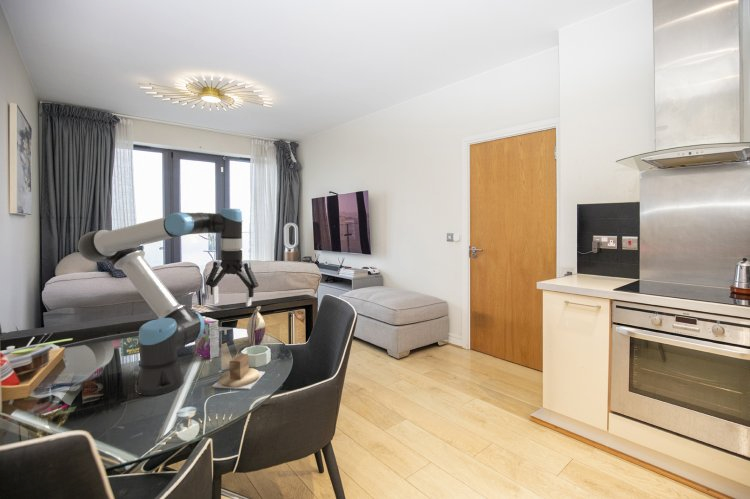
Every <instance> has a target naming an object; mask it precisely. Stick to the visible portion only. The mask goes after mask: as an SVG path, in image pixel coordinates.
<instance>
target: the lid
mask: <svg viewBox="0 0 750 499" xmlns="http://www.w3.org/2000/svg"><path fill="white" fill-rule="evenodd" d="M258 371H259V370H257V369H255V368H254V367H249V362H248V354H241V353H238V354H236V355H235V356H234V357H233V358H231V359H230V360H229V370H227V371H225V372H223V373H222V374H221V375H220V376H219V378H218V380H219V382H220V384H221V385H223V386H226V387H241V386H246V385H249V384H251V383H254V382H255V381H257V380H258V378H259V372H258ZM258 381H259V380H258ZM258 381H257V382H258Z"/></svg>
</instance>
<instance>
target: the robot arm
mask: <svg viewBox="0 0 750 499" xmlns="http://www.w3.org/2000/svg"><path fill="white" fill-rule="evenodd" d="M242 212H243V211H242V210H241V209H240V208H223V207H222V208H221V209H220V211H219V213H215V212H214V213H213V212H212V213H211V212H180V211H179V212H173V213H170V214H168V215H167V216H164V217H161V218H157V219H153V220H152V219H151V220H149V221H145V222H141V223H137V224H133V225H128V226H124V227H120V228H117V229H113V230H108V229H101V230H95V231H94V230H93V231H90V232H87V233H85V234H83V235H82V236H81V237H80V238H79V241H78V242H77V250H78V253H79V254H80V256H81V257H83V258H84V259H86V260H87V261H89V262H90V261H91V262H93V263H100V262H101V263H103V262H104V263H105V262H109V263H110V264H111V265H112V266H113V268H114V269H116V270H121V271H122V272H123V273H124V274H125V276H126V277H127V278H128V280H129V281H130V283H132V285H133V286H134V288H135V289H136V290H137V292H138V293H139V294H140V296H141V297H142V298H143V299H144V300H145V302H146V304H148V306H149V307H150V308H151V310H152V311H153V313H154V314H155V315H156V316H157V317H158V318H157V319H152V320H149V321H146V323H144V324H142V325H141V326H140V327H139V330H138V338H137V339H138V348H139V349H138V351H139V366H140V367H139V371H138V375H137V378H136V381H135V386H134V387H135V392H136V391H137V392H138V393H141V394H145V395H144V396H157V395H158V396H159V395H163V394H166V393H169V392H172V391H174V390H176V389H179V388H181V386H182V385H184V383H185V376H184V373H183V371H182V367H181V366H180V363H179V360H178V359H179V356H178V352H179V351H178V350H180V349H181V348H183V347H186V346H187V345H189V344H191V343H193V342H194V343H195V340H196V339H198V338H199V337H200V336H201V335H202V333H203V331H204V326H205V324H204V320H203V318H202V315H201V313H199V312H198V311H193V310H190V309H189V308H188V306H187V305H186V304H180V303H179V302H178V300H177V299H176V298H175V296H174V295H173V294H172V293H171V291H170V290H169V289H168V287H167V286H166V285H165V283H163V281H162V280H161V278H160V277H159V276H158V274H157V272H155V270H154V269H153V267H152V266H151V265H150V264H149V263H148V262H147V260H146V259H145V256H146V255H145V254H146V252H145V250H144V249H145V245H149V244H154V243H157V242H161V241H165V240H169V239H174V238H178V237H179V238H180V237H184V236H188V235H195V234H197V235H198V234H199V235H200V234H220V249H221V250H220V259H221V261H219V260H217V261H214V262H212V263H213V264H212V269H211V271H210V273H209V275H208V277H207V279H206V281H205V286H209V287H210V296H212V305H217V304H219V300H220V299H219V298H220V296H219V286H218V284H219V282H220V281H221V280H222V279H223V278H224V276H225V275H236V276H238V277H239V279H240V281H242V282H243V284H244V285H245V286H246V288H247V289H245V306H246V307H251V306H252V298H253V297H254V293H255V292H254V291H255V290H254V289H256V288H258V287H259V283H258V281H257V278H256V277H255V275H254V272H253V271H252V267H251V262H245V263H244V262H243V250H242V249H243V215H242V214H243V213H242ZM220 268H222V269H221V270H220V271H219V269H220ZM243 269H244V270H243ZM244 271H245V272H244ZM218 272H219V273H218ZM217 273H218V274H217ZM216 275H217V276H216ZM138 393H137V394H138Z"/></svg>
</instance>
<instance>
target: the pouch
mask: <svg viewBox="0 0 750 499" xmlns="http://www.w3.org/2000/svg"><path fill="white" fill-rule="evenodd" d="M261 308H262V306H261V305H258V306H256V309H255V310H254V311H253V313H252V315H251V316H250V318H249V320H248V321H247V326H246V334H247V338H248V341H249V345H250V346H249V347H251V346H256V345H258V346H261V343H262V342H263V339H264V336H265V334H266V323H265V320H264V317H263V316H262V314H261V313H260V310H261Z"/></svg>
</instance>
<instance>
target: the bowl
mask: <svg viewBox="0 0 750 499" xmlns="http://www.w3.org/2000/svg"><path fill="white" fill-rule="evenodd" d="M240 354H248V362H249V368H258V367H262V366H265V365H266V366H267V365H268V363H269V362H271V361H272V358H271V355H272V352H271V348H269V347H268V346H267V345H260V346H258V345H256V346H251V347H250V346H248V347H244V349H242V350H241V351H240Z"/></svg>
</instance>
